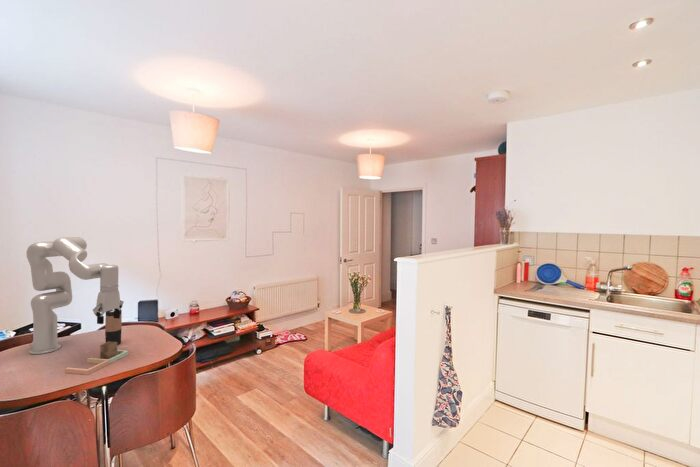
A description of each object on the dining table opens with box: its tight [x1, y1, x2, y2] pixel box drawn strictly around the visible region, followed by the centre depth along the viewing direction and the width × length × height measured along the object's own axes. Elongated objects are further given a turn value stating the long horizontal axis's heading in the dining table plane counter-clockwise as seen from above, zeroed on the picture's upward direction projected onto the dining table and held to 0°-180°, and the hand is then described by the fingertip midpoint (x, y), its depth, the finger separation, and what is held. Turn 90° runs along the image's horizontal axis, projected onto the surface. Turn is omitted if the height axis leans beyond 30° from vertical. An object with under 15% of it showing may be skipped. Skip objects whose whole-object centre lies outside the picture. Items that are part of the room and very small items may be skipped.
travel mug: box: [104, 309, 123, 346], centre depth 183 cm, size 8×8×20 cm
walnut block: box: [99, 341, 118, 359], centre depth 165 cm, size 5×5×8 cm
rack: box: [64, 349, 130, 376], centre depth 159 cm, size 12×24×2 cm, turn 174°
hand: (108, 320), depth 164 cm, fingers open, 9 cm apart
